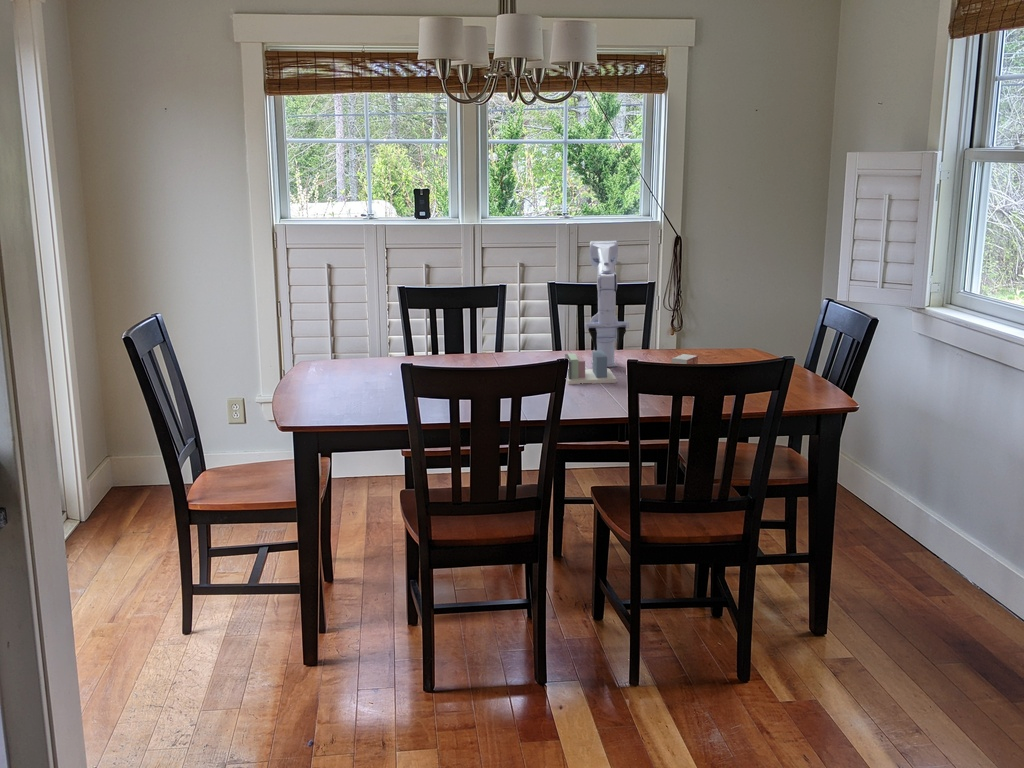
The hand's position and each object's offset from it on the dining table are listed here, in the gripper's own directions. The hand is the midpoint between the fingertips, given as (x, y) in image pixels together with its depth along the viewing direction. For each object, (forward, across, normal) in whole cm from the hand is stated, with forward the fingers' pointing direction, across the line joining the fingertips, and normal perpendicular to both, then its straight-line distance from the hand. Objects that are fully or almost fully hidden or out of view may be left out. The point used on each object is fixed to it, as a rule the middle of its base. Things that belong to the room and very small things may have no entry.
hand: (606, 349), depth 332 cm
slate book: (+8, -3, -2) cm, 9 cm away
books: (+8, -10, -1) cm, 13 cm away
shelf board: (+9, -6, -1) cm, 11 cm away
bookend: (+8, -13, -1) cm, 16 cm away
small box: (+10, +22, -20) cm, 31 cm away
